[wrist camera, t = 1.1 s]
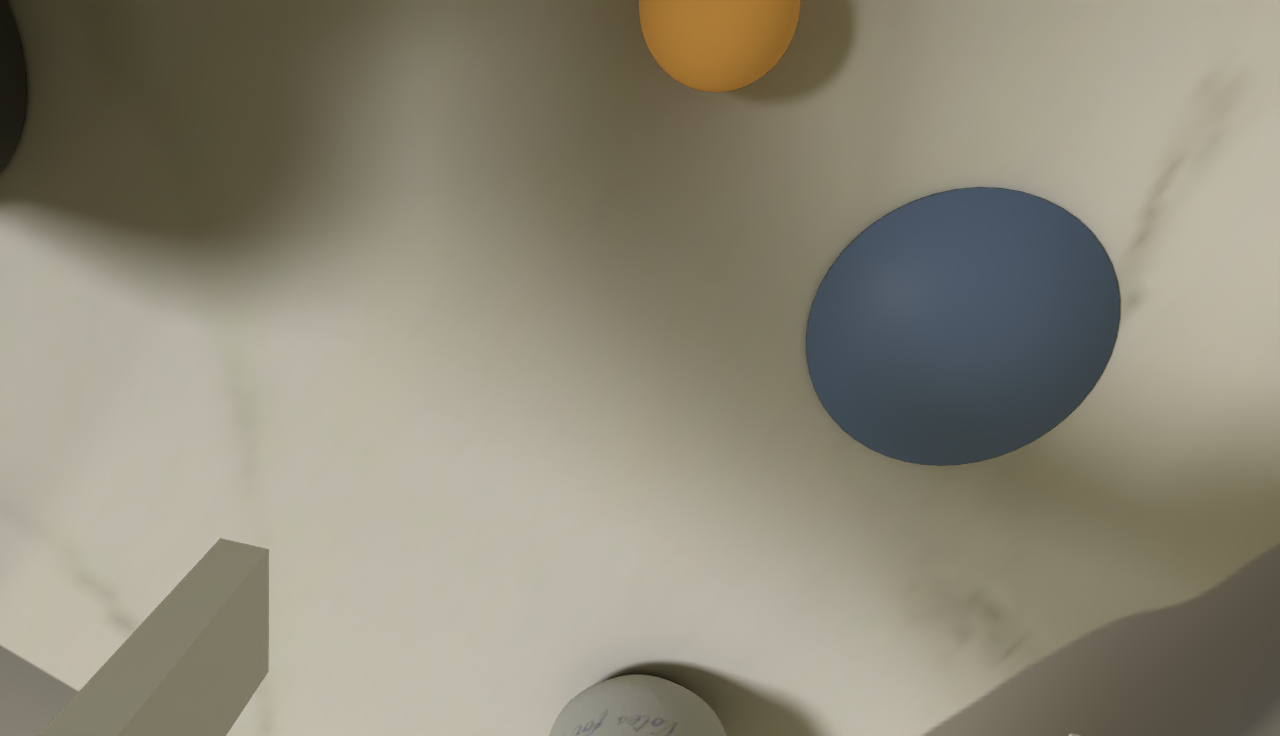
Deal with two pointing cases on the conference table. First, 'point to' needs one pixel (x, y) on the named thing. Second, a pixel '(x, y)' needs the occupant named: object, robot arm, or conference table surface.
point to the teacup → (637, 710)
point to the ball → (718, 39)
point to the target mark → (962, 326)
